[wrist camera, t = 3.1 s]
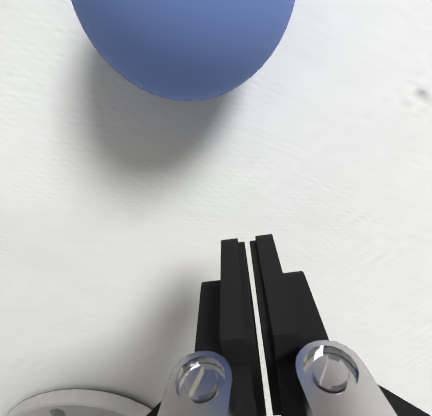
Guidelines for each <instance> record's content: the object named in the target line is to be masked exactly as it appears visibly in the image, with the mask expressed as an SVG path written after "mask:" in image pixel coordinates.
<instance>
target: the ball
mask: <svg viewBox="0 0 432 416" xmlns="http://www.w3.org/2000/svg"><path fill="white" fill-rule="evenodd" d="M71 1H72V4H73V7H74V10H75V12H76V14H77V17H78V19H79V21H80V23H81V25H82V27H83V29H84V31H85V33H86V34H87V36H88V38H89V39H90V41H91V42H92V44H93V45H94V47H95V48H96V49H97V51H98V52H99V53H100V54H101V56H102V57H103V58H104V59H105V60H106V61H107V62H108V63H109V64H110V65H111V66H112V67H113V68H114V69H115V70H116V71H117V72H118V73H119V74H121V75H122V76H123V77H124V78H126V79H127V80H128V81H130V82H131V83H133V84H134V85H136V86H138V87H139V88H141V89H143V90H145V91H148V92H150V93H152V94H155V95H158V96H161V97H164V98H169V99H175V100H201V99H207V98H211V97H215V96H218V95H221V94H223V93H226V92H228V91H230V90H232V89H234V88H236V87H237V86H239V85H241V84H242V83H243V82H245V81H246V80H247V79H249V78H250V77H251V76H253V75H254V74H255V73H256V72H257V71H258V70H259V69H260V68H261V67H262V66H263V65H264V63H265V62H266V61H267V60H268V58H269V57H270V56H271V55H272V53H273V51H274V50H275V48H276V47H277V45H278V44H279V42H280V40H281V38H282V36H283V34H284V32H285V30H286V28H287V25H288V22H289V19H290V17H291V14H292V11H293V7H294V2H295V0H71Z"/></svg>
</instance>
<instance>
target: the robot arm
mask: <svg viewBox="0 0 432 416" xmlns="http://www.w3.org/2000/svg"><path fill="white" fill-rule="evenodd" d="M255 238H256V240H255V241H250V248H251V256H252V264H253V272H254V279H255V287H256V295H257V302H258V310H259V317H260V324H261V332H262V339H263V346H264V353H265V361H266V368H267V375H268V382H269V389H270V397H271V404H272V411H273V416H274V415H281V416H430V415H429V414H427V413H425V412H423V411H422V410H420V409H418V408H417V407H415V406H413V405H412V404H410V403H408V402H407V401H405V400H403V399H402V398H400V397H398V396H396V395H395V394H393V393H391V392H390V391H388V390H386V389H385V388H383V387H381V386H380V385H378V384H377V383H376V382H375V380H374V378H373V377H372V375H371V374H370V372H369V371H368V369H367V368H366V366H365V364H364V363H363V361H362V360H361V359H360V358H359V356H358V355H357V354H356V353H355V352H354V351H352V350H351V349H350V348H348V347H347V346H345V345H343V344H340V343H338V342H335V341H329V339H328V336H327V334H326V331H325V328H324V326H323V323H322V320H321V318H320V315H319V312H318V310H317V307H316V304H315V301H314V299H313V296H312V293H311V291H310V288H309V285H308V283H307V280H306V277H305V275H304V273H303V272H302V271H299V272H290V273H283V272H282V269H281V265H280V261H279V258H278V254H277V251H276V247H275V243H274V240H273V236H272V234H268V235H260V236H255ZM6 416H266V408H265V399H264V391H263V383H262V374H261V366H260V358H259V349H258V341H257V333H256V324H255V316H254V308H253V300H252V293H251V286H250V279H249V272H248V264H247V257H246V250H245V243H244V242H239V243H238V239H237V238H236V239H228V240H221V280H218V281H209V282H202V285H201V293H200V303H199V313H198V323H197V333H196V343H195V353H192V354H189V355H188V356H186V357H185V358H183V359H182V360H180V362H179V363H178V364H177V365H176V366H175V367H174V369H173V371H172V373H171V375H170V377H169V381H168V384H167V387H166V390H165V393H164V396H163V399H162V401H161V402H160V403H159V404H158V405H157V406H156V407H155V408H154V409H153V410H151V409H150V408H148V407H147V406H145V405H143V404H140V403H138V402H136V401H134V400H132V399H129V398H126V397H123V396H120V395H116V394H113V393H108V392H102V391H97V390H85V389H68V390H56V391H51V392H47V393H42V394H39V395H36V396H34V397H31V398H29V399H26V400H24V401H22V402H21V403H19V404H18V405H16V406H15V407H13V408H12V409H11V411H10V412H9V413H8V414H7V415H6Z"/></svg>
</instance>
